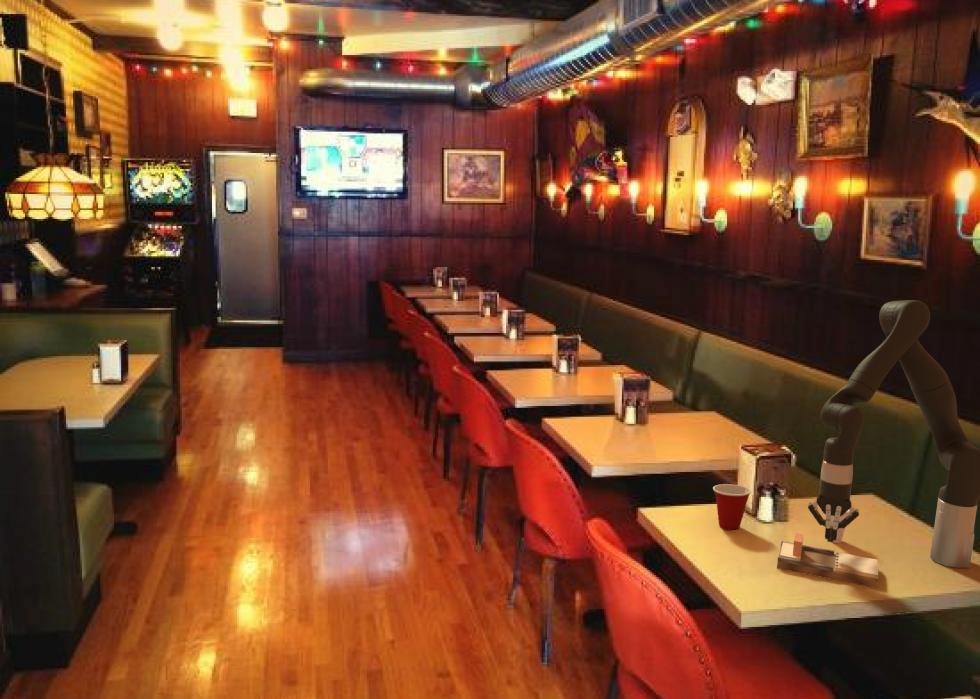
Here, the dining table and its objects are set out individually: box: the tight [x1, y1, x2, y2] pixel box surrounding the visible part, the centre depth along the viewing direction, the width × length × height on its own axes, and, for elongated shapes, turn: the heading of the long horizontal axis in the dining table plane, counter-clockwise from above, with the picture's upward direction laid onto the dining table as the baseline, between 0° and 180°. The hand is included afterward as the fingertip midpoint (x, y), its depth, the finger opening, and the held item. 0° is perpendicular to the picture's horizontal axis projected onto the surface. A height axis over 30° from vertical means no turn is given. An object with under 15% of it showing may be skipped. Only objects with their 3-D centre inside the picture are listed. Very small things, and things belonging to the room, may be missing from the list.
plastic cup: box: [712, 483, 752, 531], centre depth 243 cm, size 11×11×12 cm
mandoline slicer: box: [776, 540, 879, 589], centre depth 218 cm, size 24×12×3 cm, turn 66°
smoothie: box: [831, 510, 849, 544], centre depth 235 cm, size 6×6×14 cm
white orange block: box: [779, 532, 804, 560], centre depth 221 cm, size 5×9×5 cm, turn 156°
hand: (830, 540), depth 218 cm, fingers closed
